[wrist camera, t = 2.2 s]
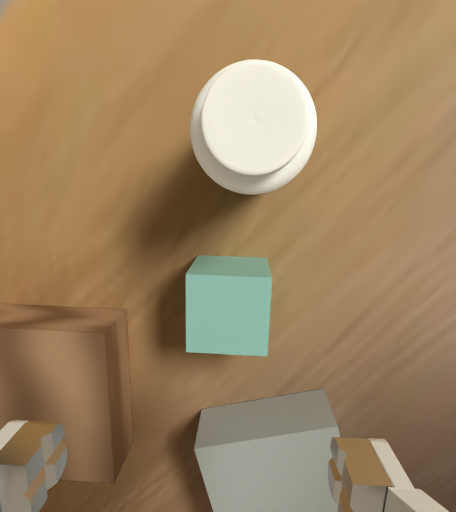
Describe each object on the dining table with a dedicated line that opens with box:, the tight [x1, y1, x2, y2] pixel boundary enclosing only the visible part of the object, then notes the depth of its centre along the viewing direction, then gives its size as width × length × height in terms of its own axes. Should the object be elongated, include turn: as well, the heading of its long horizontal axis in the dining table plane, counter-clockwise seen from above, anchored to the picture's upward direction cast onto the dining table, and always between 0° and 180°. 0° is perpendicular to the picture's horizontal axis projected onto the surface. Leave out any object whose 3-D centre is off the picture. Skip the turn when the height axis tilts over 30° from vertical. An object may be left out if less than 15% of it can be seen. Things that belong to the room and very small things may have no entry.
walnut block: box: [0, 304, 133, 484], centre depth 24 cm, size 12×12×4 cm
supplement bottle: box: [190, 60, 317, 195], centre depth 16 cm, size 6×6×10 cm
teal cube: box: [186, 255, 272, 356], centre depth 21 cm, size 5×5×5 cm
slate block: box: [194, 389, 340, 512], centre depth 25 cm, size 10×10×4 cm
